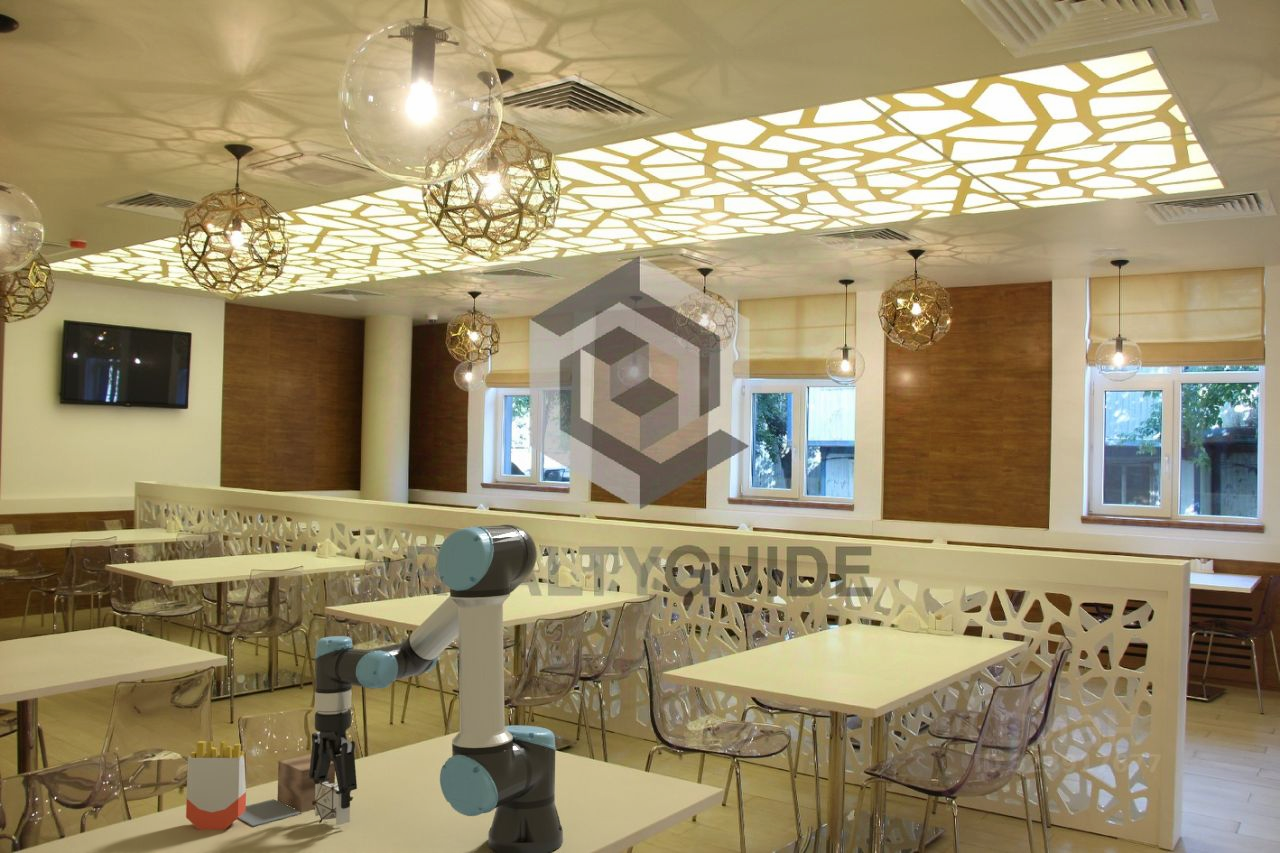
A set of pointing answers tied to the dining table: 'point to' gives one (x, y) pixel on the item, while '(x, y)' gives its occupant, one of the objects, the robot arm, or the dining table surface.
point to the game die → (327, 801)
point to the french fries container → (215, 786)
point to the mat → (266, 812)
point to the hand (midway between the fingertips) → (332, 818)
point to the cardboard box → (298, 782)
